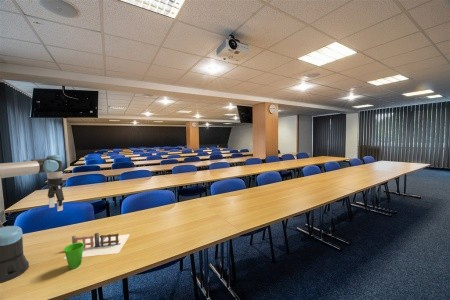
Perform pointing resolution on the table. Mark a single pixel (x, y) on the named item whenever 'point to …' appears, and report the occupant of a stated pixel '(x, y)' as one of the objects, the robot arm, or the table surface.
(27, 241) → the table surface
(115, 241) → the fence fixed
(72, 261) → the cup
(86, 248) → the card
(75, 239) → the fence swing
